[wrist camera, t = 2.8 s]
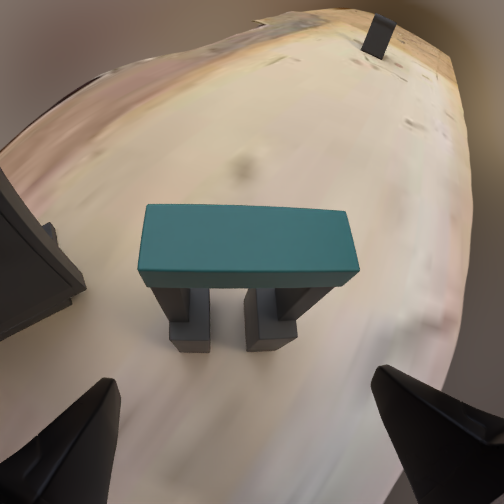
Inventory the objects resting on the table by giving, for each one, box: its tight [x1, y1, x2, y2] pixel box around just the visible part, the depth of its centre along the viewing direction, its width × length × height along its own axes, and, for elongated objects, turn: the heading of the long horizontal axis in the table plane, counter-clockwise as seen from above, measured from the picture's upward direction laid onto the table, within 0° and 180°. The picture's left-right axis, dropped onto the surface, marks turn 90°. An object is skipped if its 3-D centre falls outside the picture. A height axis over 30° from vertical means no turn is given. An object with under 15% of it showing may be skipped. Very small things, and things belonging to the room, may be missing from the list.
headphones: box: [137, 204, 360, 353], centre depth 15 cm, size 4×7×13 cm, turn 93°
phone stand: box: [361, 13, 397, 60], centre depth 51 cm, size 9×6×12 cm, turn 156°
